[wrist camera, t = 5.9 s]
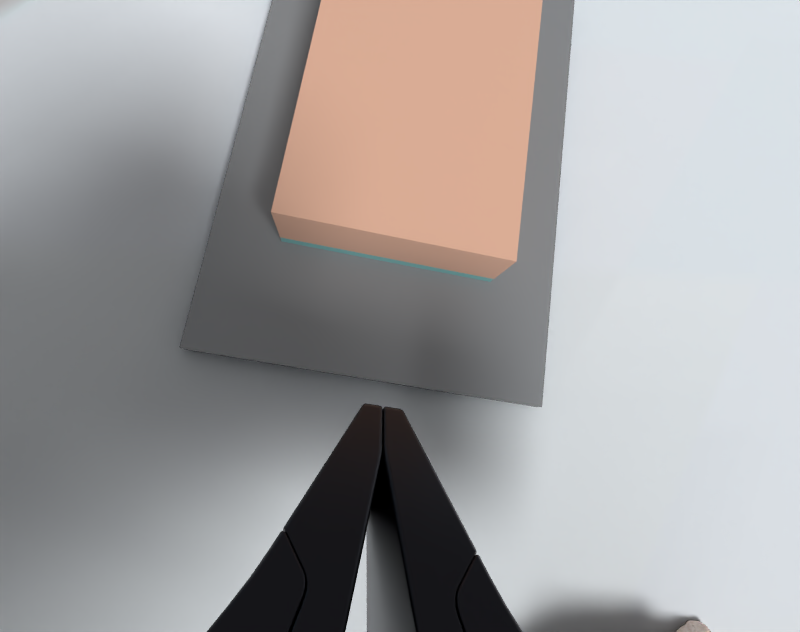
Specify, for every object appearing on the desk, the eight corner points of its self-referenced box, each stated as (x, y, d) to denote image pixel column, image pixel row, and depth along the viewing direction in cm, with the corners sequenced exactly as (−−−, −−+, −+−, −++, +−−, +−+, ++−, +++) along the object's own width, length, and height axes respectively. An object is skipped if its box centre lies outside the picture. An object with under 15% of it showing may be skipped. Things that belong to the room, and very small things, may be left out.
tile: (516, 261, 14) (543, -8, 16) (270, 211, 13) (336, -64, 15) (490, 282, 16) (516, 45, 19) (281, 241, 15) (336, -1, 18)
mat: (534, 406, 16) (541, 406, 16) (185, 349, 15) (179, 347, 14) (567, 6, 20) (574, -6, 20) (296, -69, 19) (294, -83, 18)
